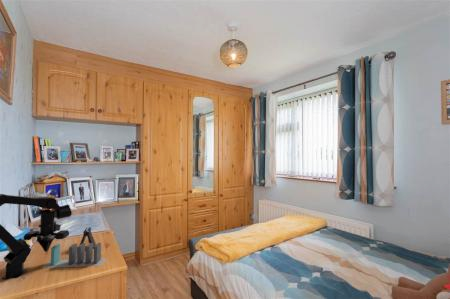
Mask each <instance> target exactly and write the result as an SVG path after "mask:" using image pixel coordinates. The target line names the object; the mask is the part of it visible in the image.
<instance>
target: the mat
mask: <svg viewBox="0 0 450 299" xmlns="http://www.w3.org/2000/svg"><path fill="white" fill-rule="evenodd" d="M107 259H108V258H107V257H101V260H100V261H99V262H98V263H97V264H93V260H94V258H93V260H92V261H91V262H90V263H89V264H85V260H84V261H83V262H82V263H81V264H80V265H77V261H76V262H75V263H73V264H72V265H69V258H68V259H66V258H65V259H60V261H59V262H58V263H57V264H55V265H54V266H51V260H49V262H47V263H46V264H44V265H43V266H41V269H48V268H49V269H50V268H53V269H54V268H55V269H56V268H75V267H76V268H77V267H81V268H82V267H100V266H102V265H103V263H104V262H105V261H106V260H107Z"/></svg>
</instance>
